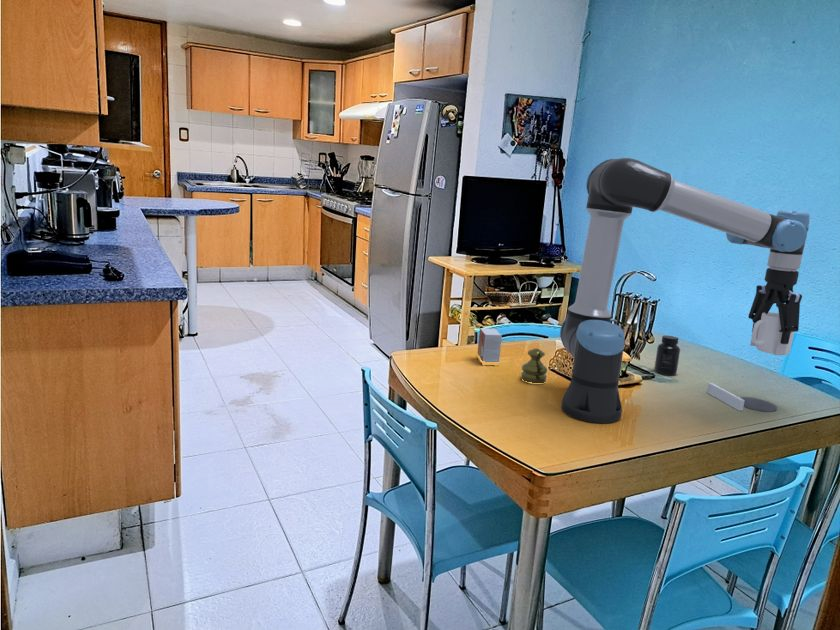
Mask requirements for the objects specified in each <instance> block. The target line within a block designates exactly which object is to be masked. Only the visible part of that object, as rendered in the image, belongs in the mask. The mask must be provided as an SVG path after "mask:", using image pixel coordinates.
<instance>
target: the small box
mask: <svg viewBox="0 0 840 630" xmlns="http://www.w3.org/2000/svg"><path fill="white" fill-rule="evenodd" d="M478 334H479V335H478V343H477V344H478V346H477V354H478V355H479V356H480V358H481V360H482V361H485V362H499V363H500V357H501V350H502V349H501V347H502V346H501V345H502V338H503V337H502V334H501V333H500V331H498V330H497V329H496V328H484V327H483V328H479V333H478Z"/></svg>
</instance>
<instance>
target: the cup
mask: <svg viewBox="0 0 840 630" xmlns="http://www.w3.org/2000/svg"><path fill="white" fill-rule="evenodd" d="M759 326H760V327H759ZM758 327H759V332H758V337H757V340H756V334H757V330H758ZM786 327H787V326H786ZM752 328H753V327H752ZM779 330H781V325H780V318H779V312H773V311H769V312H768V314H766V313H765V312H763V313H762V316H761V320H759V321H757V322H756V324H755V325H754V328H753V331H752V330H751V339H752V341H753V343H754V344H755V345H756V346H755V348H756V349H757V350H758V351H760V352H763V353H765V354H771V355H774V350H775V345H776V340H777V335H778V331H779ZM794 335H795V332H791V334H790V338H789V343H788V344H787V345H786V350H785V355H784V356H787V355H789V354H790V353H791V349H792V346H793V340H794Z"/></svg>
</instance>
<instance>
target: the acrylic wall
mask: <svg viewBox="0 0 840 630" xmlns="http://www.w3.org/2000/svg"><path fill="white" fill-rule="evenodd" d="M706 393H707V394H709V395H710V396H712V397H714V398H716V399H718V400H720V401H721V402H722V403H724V404H726V405H727V406H730V407H731V408H734V410H736V411H742V412H743V411H744V401H745V400H743V399H741V398H740V397H739V396H738V395H736V394H734V393H732V392H730V391H728V390H726V389H724V388H722V387H721V386H719V385H717V384H715V383H713V382H707V388H706Z"/></svg>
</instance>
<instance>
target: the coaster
mask: <svg viewBox="0 0 840 630" xmlns="http://www.w3.org/2000/svg"><path fill="white" fill-rule="evenodd" d="M739 398H741V399H743V400H745V401H744V406H743V408H747V409H750V410H754V411H759V412H763V413H764V412H765V413H766V412H767V413H771V412H772V411H773V412H776V411H777V409H778V407H777V406H776V405H775V404H774V403H772V402H770V401H768V400H764V399H761V398H757V397H750V396H749V397H748V396H742V397H741V396H740V397H739Z"/></svg>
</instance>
